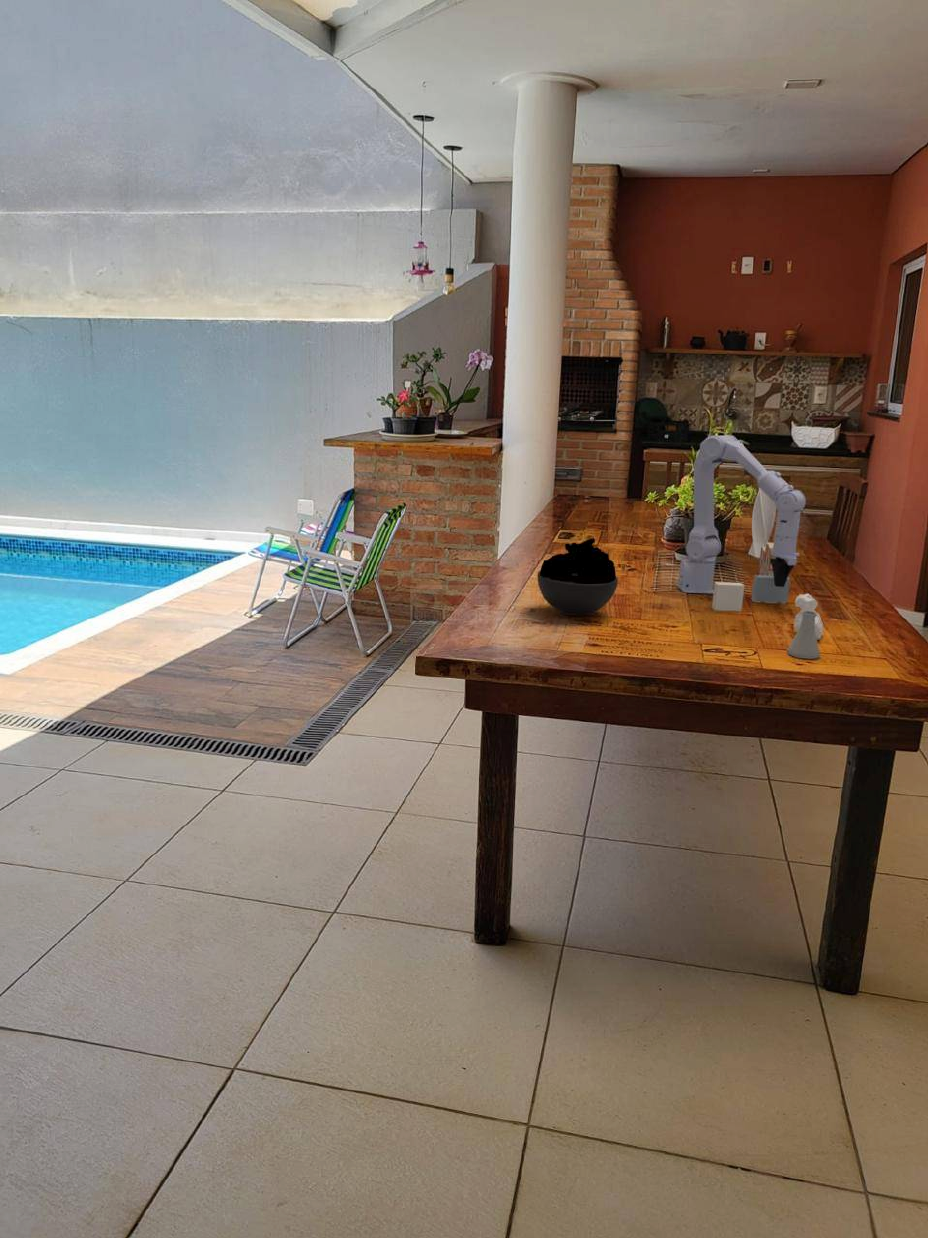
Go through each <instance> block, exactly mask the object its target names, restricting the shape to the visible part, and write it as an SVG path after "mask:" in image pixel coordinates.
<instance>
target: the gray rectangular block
mask: <svg viewBox="0 0 928 1238" xmlns="http://www.w3.org/2000/svg"><path fill="white" fill-rule="evenodd" d="M790 585H791V578H790V577H789V578H787V580H786V583H785V585H784V587H776V586H775V584H774V576H765V575H758V574H754V576H753V584H752V590H751V597H750V600H751V601H752V602H753V603H764V604H768V603H769V604H786V603H787V604H788V597H789V591H790Z"/></svg>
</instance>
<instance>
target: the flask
mask: <svg viewBox="0 0 928 1238" xmlns="http://www.w3.org/2000/svg"><path fill="white" fill-rule="evenodd" d="M816 612H817V611H816ZM816 612H813V611H802V614H803V618H802V622H801V625H800V628H799V629H798V631H796V633H795V635H794V637H793V639H792V640H791V642H790V644H789V646H788V647H787V650H786V652H787V654H788V655H790V656H792V657H795V658H798V659H806V660H814V659H815V660H816V659H821V653H820V648H819V645H818V640H817V639H816V634H815V617H816V616H817V613H818V612H817V613H816Z"/></svg>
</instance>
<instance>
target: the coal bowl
mask: <svg viewBox="0 0 928 1238" xmlns="http://www.w3.org/2000/svg"><path fill="white" fill-rule="evenodd" d="M595 542H596V539H595V538H594V537H591V538H588V539H586V540H584V541H581V542H579V543H577V542H571V544H570V543H565V544H564V549H565V550H566V551H567V552H566V553H558V554H555V555H551V557H550V558H548V559H547V560H546V559H544V560H543V562H542V564H541V567H540V570H539V571H538V573H537V585H538V588H539V591H540V593H541V595H542V598H544V600H545V601H546V602H547V604H549V605H550V606H551V607H552V608H553V609H554V610H556V611H558V612H560V613H562V614H564V615H568V616H573V617H574V616H575V617H581V616H587V615H591V614H594V613H595V612H598V611H599V610H601V609H602V608H604V606H606V605H607V604H608V603H609V602H610V600H611V599H612V598H613V596H614V594H615V591H616V589H617V586H618V582H619V578H618V577H617V576H616V575H617V574H616V568H615V562H614V561H613V560H612V559H610V555H609V553H606V552H604V551H602V549H601V548H599V547H598V546H596V547H595V546H594V545H593V544H595Z"/></svg>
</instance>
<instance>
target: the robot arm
mask: <svg viewBox="0 0 928 1238" xmlns="http://www.w3.org/2000/svg"><path fill="white" fill-rule="evenodd" d="M740 442H741V441H740V440H738V439H737V438H736V436H734V435H732V434H725V435H715V434H714V435H713V434H712V435H709V436H707V437H706V438H705V439H704V440H703V441H702V442H701V443H700V444H699V451H698V453H697V456H696V458H695V460H694V462H693V522H694V523H693V525H694V526H693V528H692V529H691V531H690V533H689V534H688V542H687V543H686V546H685V551H686V554H687V556H688V557H689V559H682V560H681V562H680V564H679V570H678V581H677V586H676V587H677V588H678V589H679V590H680V591H681V592H682V593H688V594H690V593H691V594H692V593H693V594H710V595H711V594H714V588H713V585H714V577H715V576H714V575H715V568H716V561H717V560H716V559H717V556H718V555H719V554H720V552H721V550H722V543H721V540H720V537H719V531H718V529H717V528H716V527H715V498H714V497H715V494H714V493H715V492H714V491H715V490H714V489H715V487H714V486H715V483H714V482H715V479H714V478H715V474H714V473H715V469H716V468H717V467H718V466H720V465H721V464H722V463H723V462H725V461H732V462H736V463H737V464H739V466H740V467H742V468H743V469H744V470H745V471H747V472H748V473H749V474H750V475H752V477H754V478H755V480H756V481H757V488H758V489H759V488H760V489H761V490H762V491H763V492H764V493H765V494H766V495H767V496H768V497H769V498H770V499H771V500H772V501H774V502H775V507H776V512H777V517H776V524H775V528H776V530H775V531H774V535H775V538H774V545H773V548H772V547H771V555H773V556H776V558H775V559H770V562H771V565H772V568H773V574H774V584H775V586H776V587H784V585H785V583H786V580H787V578H788V575H789V573H790V574H791V571H792V570H793V569H794V567H796V566H797V562H798V558H797V557H800V553H799V552H796V551H797V550H796V549H797V541H798V535H799V527H800V521H801V520H800V519H801V512H802V510H804V508H805V506H806V505H807V504H806V502H807V499H806V496H805V494H803V492H802V491H801V490H798V489H794V486H793V485H792V484H790V485H789V483H787V482H786V481H785V480H784V479H783V478H782V474H781V472H779V471H775V470H767V469H766V467H764V466H763V465H762V463H760V462H759V460H758V459H756V457H755V456H754V455H753V454H752V453H751V452H750V451H749V450H748V449H747V448H746V446H744V443H743V442H741V443H740Z"/></svg>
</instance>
